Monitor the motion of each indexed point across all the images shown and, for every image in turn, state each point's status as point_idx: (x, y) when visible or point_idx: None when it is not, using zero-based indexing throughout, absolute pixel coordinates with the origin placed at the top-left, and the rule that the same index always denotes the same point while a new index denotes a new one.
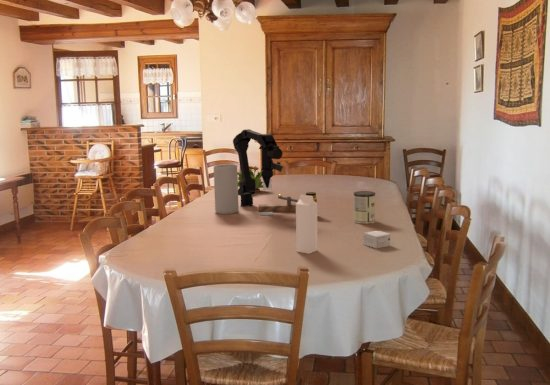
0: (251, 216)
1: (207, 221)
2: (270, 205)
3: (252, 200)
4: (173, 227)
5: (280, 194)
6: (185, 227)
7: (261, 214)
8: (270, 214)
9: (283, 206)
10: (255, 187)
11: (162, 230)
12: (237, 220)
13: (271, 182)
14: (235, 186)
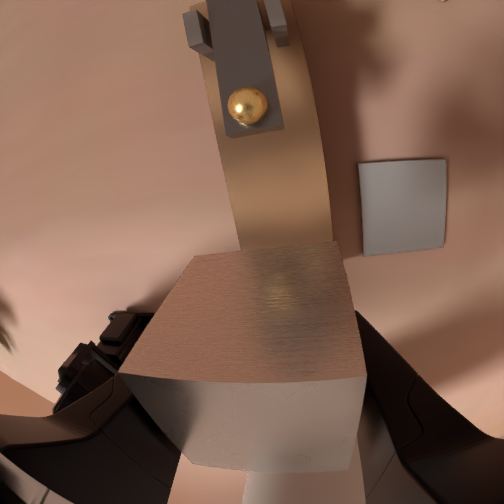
0: (448, 285)
1: (465, 400)
2: (292, 196)
3: (127, 328)
4: (485, 426)
5: (252, 100)
6: (499, 410)
7: (435, 236)
8: (442, 177)
9: (309, 78)
10: (82, 371)
11: (497, 428)
12: (497, 325)
13: (355, 329)
14: (358, 495)
